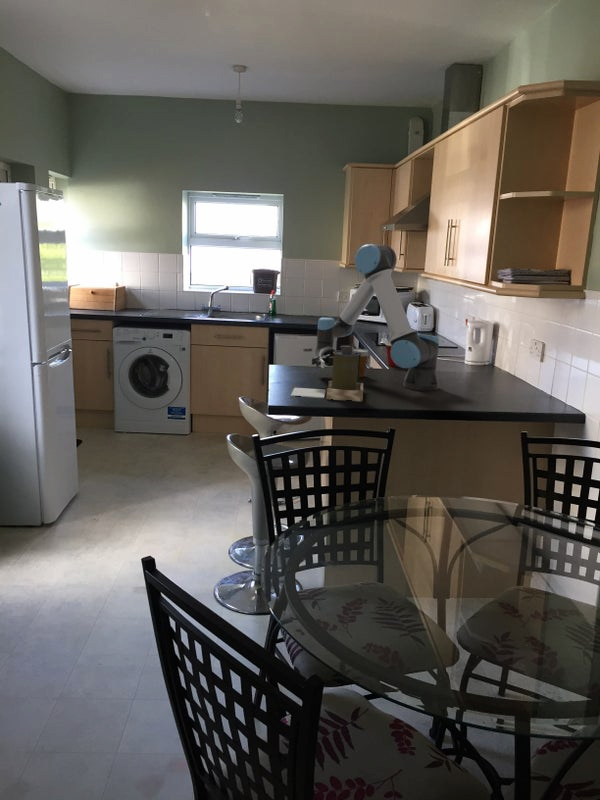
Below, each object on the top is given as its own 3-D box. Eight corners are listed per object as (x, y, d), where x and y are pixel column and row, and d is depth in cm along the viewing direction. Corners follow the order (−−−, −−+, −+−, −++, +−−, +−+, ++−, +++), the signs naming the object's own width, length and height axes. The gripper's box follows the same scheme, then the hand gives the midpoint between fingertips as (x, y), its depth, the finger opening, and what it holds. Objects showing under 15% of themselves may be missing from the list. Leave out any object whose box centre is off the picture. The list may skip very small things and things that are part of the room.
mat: (325, 390, 268) (325, 389, 268) (323, 398, 255) (323, 397, 255) (294, 388, 269) (294, 387, 269) (290, 396, 256) (290, 394, 256)
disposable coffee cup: (366, 378, 298) (368, 352, 295) (345, 376, 299) (347, 351, 297) (367, 374, 307) (369, 349, 304) (347, 373, 308) (349, 348, 306)
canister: (335, 398, 254) (338, 348, 250) (326, 392, 264) (330, 343, 259) (361, 398, 258) (365, 348, 253) (351, 392, 267) (355, 344, 262)
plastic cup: (378, 365, 334) (380, 342, 331) (390, 363, 342) (392, 340, 339) (397, 368, 327) (399, 344, 324) (408, 366, 335) (410, 343, 332)
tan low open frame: (362, 392, 268) (363, 383, 267) (362, 401, 253) (363, 391, 252) (328, 390, 269) (328, 381, 268) (326, 399, 254) (326, 389, 253)
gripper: (356, 365, 289) (368, 374, 269) (300, 364, 285) (309, 373, 264) (357, 348, 287) (370, 356, 267) (301, 347, 283) (310, 355, 263)
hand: (339, 365), depth 266 cm, fingers open, 13 cm apart
